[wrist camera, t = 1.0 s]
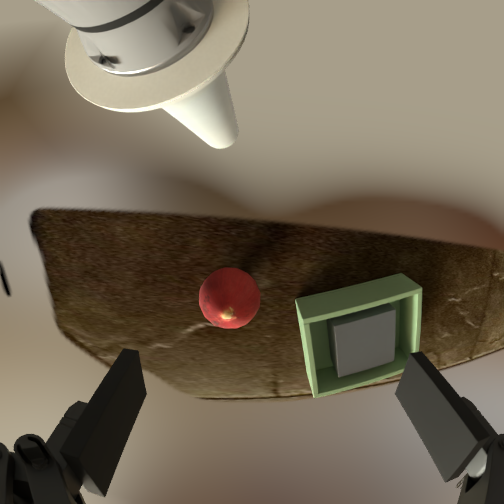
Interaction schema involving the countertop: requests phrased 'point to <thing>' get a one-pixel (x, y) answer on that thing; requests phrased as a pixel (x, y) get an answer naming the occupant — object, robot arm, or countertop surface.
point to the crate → (351, 300)
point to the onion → (229, 298)
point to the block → (362, 339)
